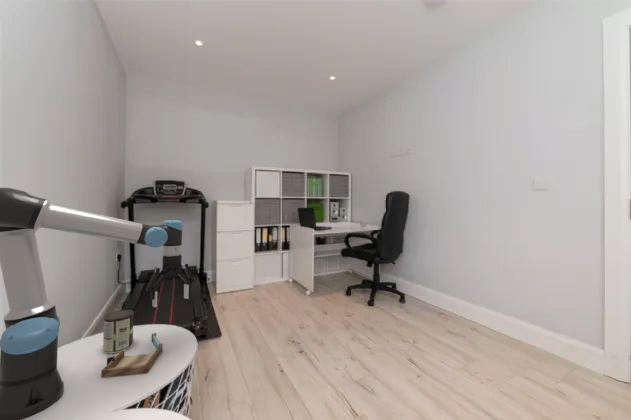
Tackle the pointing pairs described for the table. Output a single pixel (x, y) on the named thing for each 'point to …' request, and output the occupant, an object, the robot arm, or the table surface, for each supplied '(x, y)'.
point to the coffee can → (118, 331)
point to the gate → (157, 342)
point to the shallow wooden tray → (130, 364)
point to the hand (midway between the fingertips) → (171, 302)
